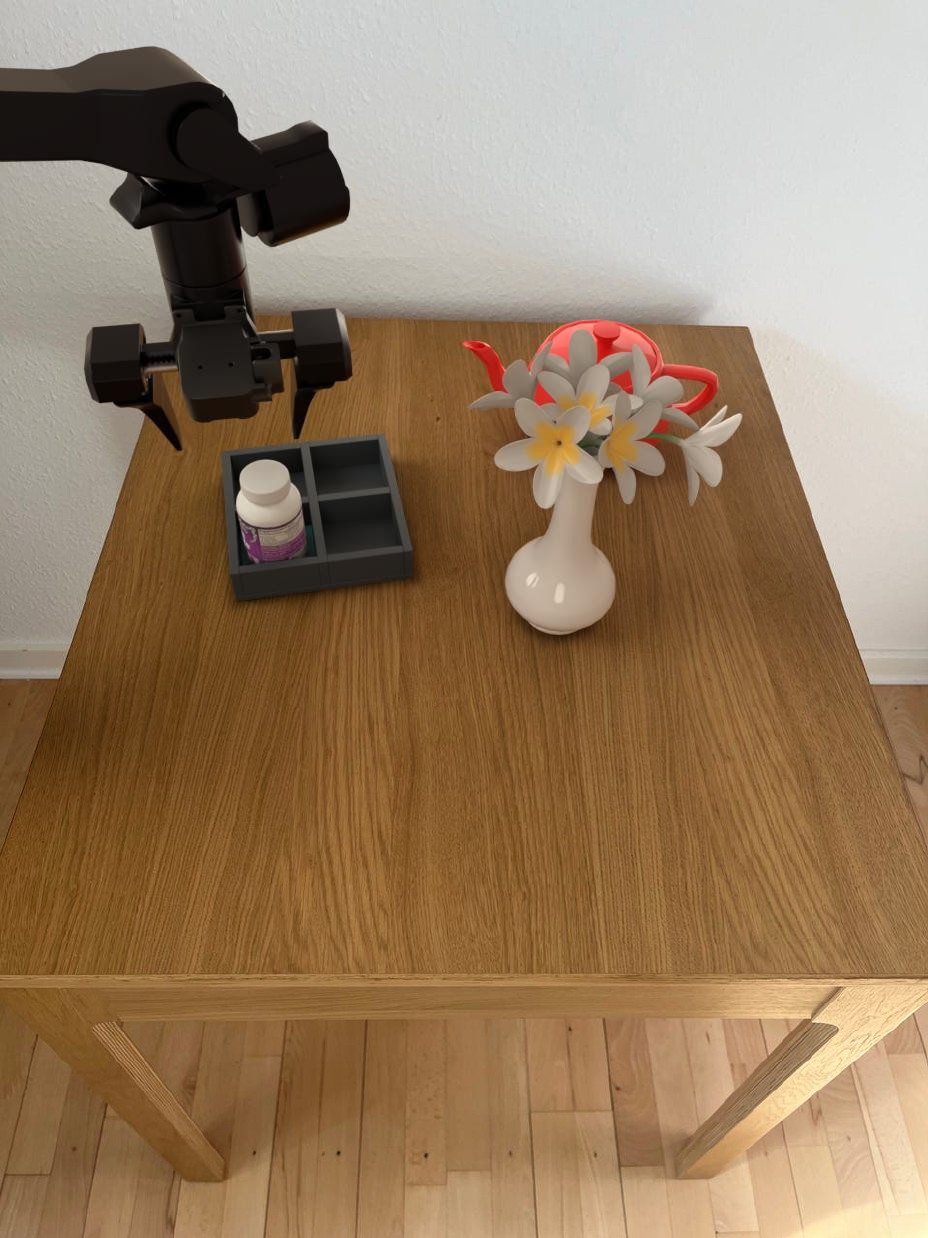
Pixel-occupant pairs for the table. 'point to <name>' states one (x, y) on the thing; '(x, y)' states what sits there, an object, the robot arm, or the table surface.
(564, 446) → the flower vase
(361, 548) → the compartment tray
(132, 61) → the robot arm
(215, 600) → the table surface
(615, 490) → the table surface
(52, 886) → the table surface
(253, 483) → the pill bottle
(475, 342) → the teapot
